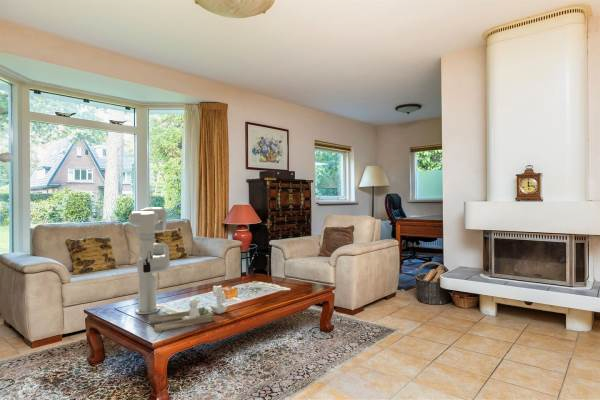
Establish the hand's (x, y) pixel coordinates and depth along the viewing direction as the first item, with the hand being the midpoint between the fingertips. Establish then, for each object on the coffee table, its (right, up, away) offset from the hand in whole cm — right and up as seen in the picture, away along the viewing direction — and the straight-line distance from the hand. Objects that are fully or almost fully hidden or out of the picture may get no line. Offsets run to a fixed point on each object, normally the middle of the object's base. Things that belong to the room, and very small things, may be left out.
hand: (146, 272), depth 191 cm
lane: (+17, -27, +2) cm, 32 cm away
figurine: (+33, -27, +19) cm, 47 cm away
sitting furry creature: (+23, -27, +5) cm, 36 cm away
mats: (+8, -27, -4) cm, 28 cm away
